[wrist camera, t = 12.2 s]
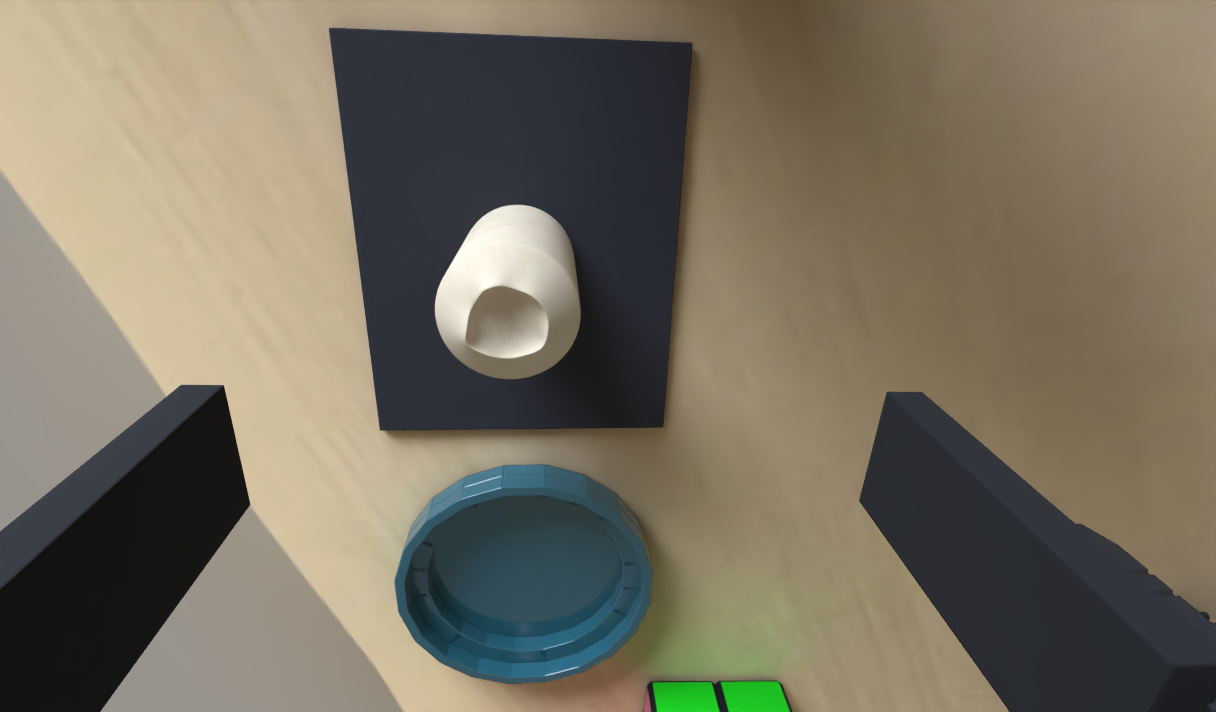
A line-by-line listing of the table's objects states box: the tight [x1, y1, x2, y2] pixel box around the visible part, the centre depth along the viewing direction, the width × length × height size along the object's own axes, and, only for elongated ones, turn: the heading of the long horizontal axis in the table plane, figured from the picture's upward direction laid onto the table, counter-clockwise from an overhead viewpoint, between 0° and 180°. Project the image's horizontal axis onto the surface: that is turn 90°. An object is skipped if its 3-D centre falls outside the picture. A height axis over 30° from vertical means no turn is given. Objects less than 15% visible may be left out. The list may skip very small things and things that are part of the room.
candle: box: [435, 205, 581, 379], centre depth 27 cm, size 6×6×10 cm
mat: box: [329, 28, 692, 430], centre depth 32 cm, size 20×16×1 cm
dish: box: [395, 465, 653, 684], centre depth 39 cm, size 15×15×3 cm
